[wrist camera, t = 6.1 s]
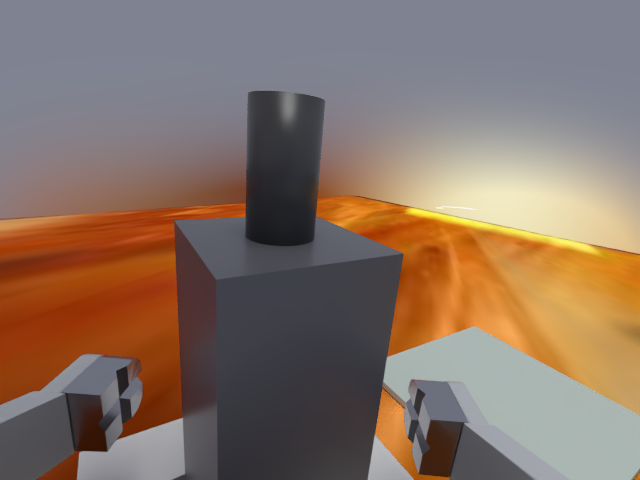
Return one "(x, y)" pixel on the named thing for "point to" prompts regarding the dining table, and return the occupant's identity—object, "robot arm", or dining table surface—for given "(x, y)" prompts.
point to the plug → (281, 318)
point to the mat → (528, 403)
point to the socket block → (168, 458)
